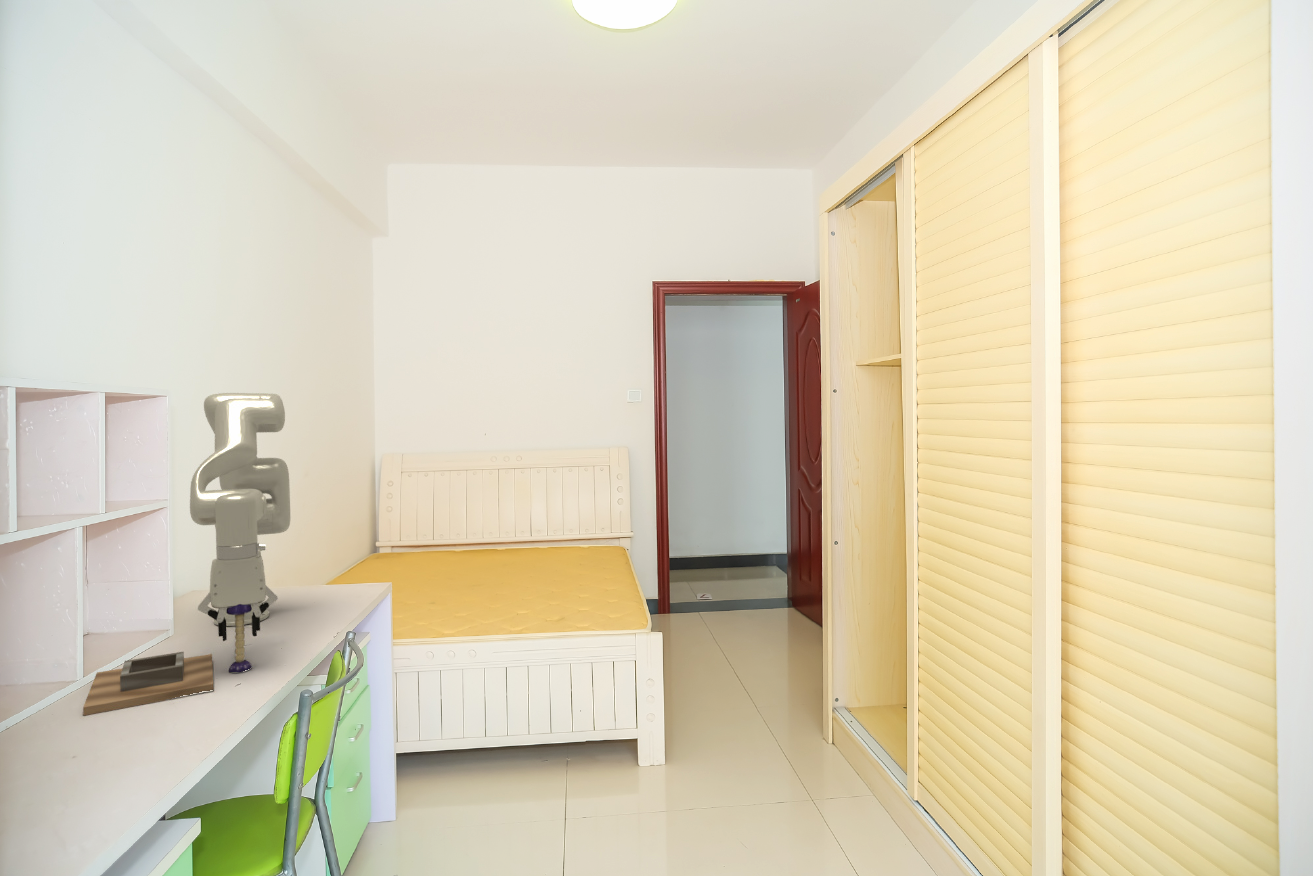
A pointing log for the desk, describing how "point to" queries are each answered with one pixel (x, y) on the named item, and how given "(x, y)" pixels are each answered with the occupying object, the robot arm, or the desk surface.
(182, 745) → the desk surface
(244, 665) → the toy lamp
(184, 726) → the desk surface
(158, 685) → the socket board
